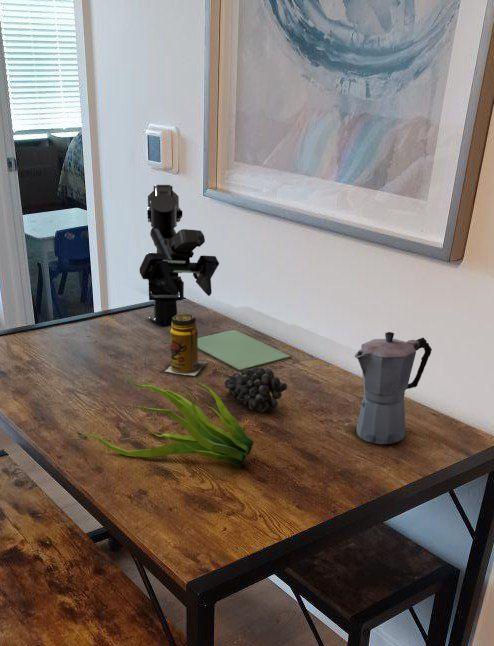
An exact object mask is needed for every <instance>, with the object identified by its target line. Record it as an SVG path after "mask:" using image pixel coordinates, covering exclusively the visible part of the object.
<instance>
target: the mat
mask: <svg viewBox="0 0 494 646" xmlns="http://www.w3.org/2000/svg"><path fill="white" fill-rule="evenodd" d="M198 350H200V351H202V352H204V353H206V354H208V355H209V356H212V357H213V358H215V359H217V360H218V361H220V362H222V363H225V364H226V365H228V366H230V367H232V368H233V369H235V370H237V371H239V372H240V371H242V370H244V369H252V368H254V367H258V366H263V365H266V364H269V363H273V362H277V361H282V360H286V359H289V358H291V355H290V354H287V353H285V352H283V351H281V350H279V349H277V348H276V347H275V348H274V347H272V346H271V345H269V344H267V343H265V342H262V341H260V340H258V339H255V338H254V337H252V336H249V335H248V334H245V333H244V332H241V331H239V330H237V329H230V330H225V331H222V332H217V333H213V334H209V335H205V336H200V337H198Z"/></svg>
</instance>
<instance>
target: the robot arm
mask: <svg viewBox="0 0 494 646" xmlns="http://www.w3.org/2000/svg"><path fill="white" fill-rule="evenodd" d="M179 199H180V198H179V195H178V194H177V193H176V192H175V191H174V190H173V185H171V184H155V185H153V191H152V192H151V193H149V195H147V211H146V212H147V223H150V227H151V230H150V231H149V232H150V233H149V235H150V237H151V240H152V241H153V242H152V243H153V245H154V246H155V248H156V252H147V253H146V254H145V256H144V257H143V260H142V263H141V265H140V267H139V274H140V276H141V278H142V280H147V281H148V301H153V316H152V317H148V318H149V321H151V322H153V323H155V324H157V325H158V326H160V327H164V326H168V325H172V317H173V316H175V315H178V306H177V305H178V304H177V303H178V301H182V299H184V298H185V297H184V294H185V293H184V292H185V291H184V290H185V289H184V288H185V282H184V280H183V279H182V276H179V274H183V273H184V274H192V276H193V278H194V279H195V283H196V284H197V285H198V287H200V289H201V290H202V291H203V292H204V293H205V294H206V295H207V296H208V297H210V296H211V295H212V280H211V279H212V277H213V276H214V274H215V272H216V271H217V269H218V267H219V265H220V262H219V260H218V258H217V256H216V255H200V256H199V258H198V259H197V261H196V262H191V258H193V257H194V254H195V253H194V250H195V249H196V248H197V247H198V248H199V247H201V246H202V245H204V243H205V242H206V238H205V235H204V233H203V232H202V230H201V229H200V230H199V229H186V228H183V229H179V230H178V231H176V229H175V228H177V226H178V223H180V222H181V219H182V218H183V210H182V209H181V208H180V200H179Z"/></svg>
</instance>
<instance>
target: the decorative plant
mask: <svg viewBox="0 0 494 646" xmlns="http://www.w3.org/2000/svg"><path fill="white" fill-rule="evenodd" d="M117 367H118V369H119V371H120V372H121V373H122V374H123V375H124V376H125V377H126V378H127V379H128V381H130V382H131V384H132V385H134V386H137V387H139V388H142V389H147V390H152V391H154V392H156V393H158V394H160V395H163V396H164V397H165V398H166V399H167V400H168V401H170V403H172V405H174V406H175V407H176V408H177V409H178V410H179V411H180V412H181V414H182V415H183V417H184V418H183V417H181V416H179V415H178V414H177V413H174V412H173V411H172V410H170V409H164V408H163V409H162V408H153V407H145V406H139V405H134V404H129V403H125V402H122V401H119V403H121V404H123V405H128V406H131V407H135V408H139V409H142V410H146V411H151V412H155V413H159V414H167V415H168V416H170V417H171V418H173V419H174V421H176V422H177V423H178V424H179V425H180V426H181V427H182V428H184V429H185V430H186V431H187V432H188V434H189V435H183V434H173V433H163V434H157V433H156V432H153V431H152V430H150V429H149V428H148V427H147V426H145V424H143V427H145V428H146V429H147V430H148V431H150V432H151V433H152V434H153V435H155V436H156V437H158V438H165V439H167V440H170V441H173V442H174V443H170V444H165V445H161V446H156V447H153V448H145V449H136V450H135V449H134V450H126V449H123V448H121V447H118V446H114V445H112V444H110V443H109V442H107V441H106V440H104V439H103V438H101V437H99V436H96V435H93V434H79V435H74V436H70V437H67V438H65V440H68V439H71V438H75V437H91V438H93V439H96V440H98V441H99V442H100V443H102V444H103V445H104V446H105V447H106V448H107V449H109V450H111V451H114V452H116V453H118V454H121V455H123V456H127V457H135V458H136V457H137V458H150V459H151V458H152V459H153V458H160V457H165V456H170V455H171V456H172V455H181V454H183V455H184V454H199V455H202V456H206V457H208V458H211V459H213V460H216V461H220V462H225V463H229V464H232V465H234V466H236V467H242V465H243V463H244V462H245V460H246V458H247V456H248V455H250V453H251V451H252V450H253V445H254V440H252V439H251V438H250V437H249V436H248V435H247V434H246V433H245V431H244V430H243V428H242V427H241V426H240V424H239V423H238V420H237V419H236V417H235V416H234V415H232V414H231V413H230V411H229V410H228V408H227V407H226V405H225V404H224V402H223V401H222V399H221V398H220V397H219V395H217V393H215V391H213V390H212V388H210V387H209V386H207V385H205V384H203V383H201V382H199V381H198V380H197V378H195V377H193V379H194V380H195V381H196V382H197V383H198V384H199V385H201V386H202V387H204V388H205V389H207V390H208V391H209V393H210V394H211V395H212V396H213V399H214V400H215V403H216V406H217V409H218V411H217V410H216V409H215V407H211V406H210V405H207V404H205V403H203V405H204V406H206V407H208V408H209V409H212V410H213V411H214V412H215V414H216V415H217V416H218V417H219V420H220V422H221V424H222V426H223V427H224V428H225V429H226V430H227V431H226V430H224V429H223V428H220V427H218V426H217V425H216V424H214V423H213V422H212V421H211V420H210V419H209V418H208V417H207V416H206V414H205V413H204V412H203V411H202V410H201V408H200V407H199V406H197V405H196V404H195V402H194V397H193V396H192V395H191V394H190V393H189V392H188V391H186V390H185V389H183V388H181V387H180V386H176V388H179V389H180V390H181V391H183V392H184V393H186V394H187V395H188V396H189V398H190V399H191V401H190V400H188V399H187V398H186V397H184V396H182V395H180V394H178V393H176V392H174V391H171V390H169V389H162V388H159V387H156V386H155V385H153V384H151V383H149V382H147V381H146V380H145V379H144V378H142V380H143V381H142V382H143V383H145V384H139V383H137V382H134V381H133V380H132V379H131V378H129V376H127V374H125V373H124V371H122V369H121V368H120V366H117ZM228 431H229V432H228Z"/></svg>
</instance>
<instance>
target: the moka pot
mask: <svg viewBox="0 0 494 646" xmlns="http://www.w3.org/2000/svg"><path fill="white" fill-rule="evenodd" d="M384 333H385V334H384V337H385V338H374V339H371V340H369V341H366V342H364V343H362V344H361V345H360V348H361V349H359V350H358V351H357V352H356V353H355V354H354V358H355V359H356V360H358V363H359V366H360V368H361V372H362V384H363V397H362V401H361V406H360V410H359V415H358V421H357V424H356V429H355V430H356V434H357V436H358V437H359V438H360V439H361V440H363V441H365V442H368V443H371V444H374V445H392V444H395V443H399V442H400V441H402V440H403V439H404V438H405V436H406V432H407V431H406V429H407V428H406V413H405V412H406V407H405V394H406V390H409V389H414V388H416V387H418V385H419V382H420V380H421V378H422V376H423V375H422V374H423V373H424V370H425V367H426V366H427V363H428V360H429V357H430V356H431V354H432V351H433V350H432V347H431V346H430V343H429V342H427V339H425V337H420V338H418V339H416V340H415V339H409V340H406V341H404V340H400V339H397V338H394V336H395V333H394V332H393V331H387V332H384ZM420 349H423V350H424V353H423V355H422V356H421V359H420V364H419V367H418V369H417V372H416V375H415V377H414V379H413V380H412V382H410V380H411V379H410V378H411V374H412V372H413V371H412V370H413V367H414V362H415V358H416V355H417V351H419V350H420Z"/></svg>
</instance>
